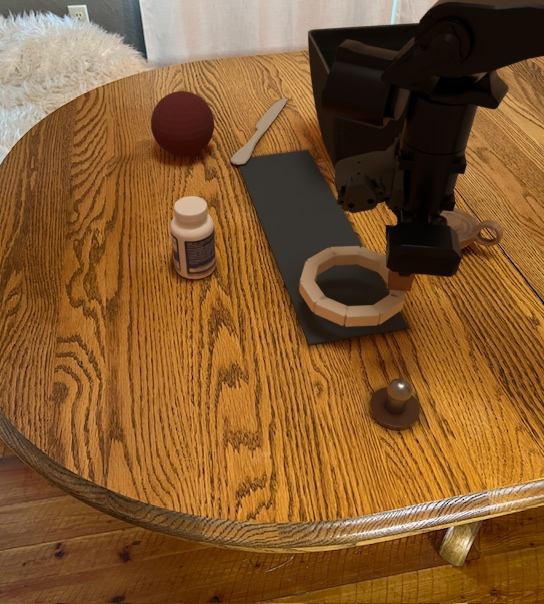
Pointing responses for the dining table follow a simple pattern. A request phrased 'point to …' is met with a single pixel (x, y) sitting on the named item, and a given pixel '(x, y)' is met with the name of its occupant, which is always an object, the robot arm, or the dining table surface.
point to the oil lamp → (471, 228)
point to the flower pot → (322, 53)
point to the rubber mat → (311, 241)
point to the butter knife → (258, 133)
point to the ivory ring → (353, 314)
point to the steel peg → (395, 405)
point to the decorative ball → (182, 124)
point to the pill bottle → (193, 238)
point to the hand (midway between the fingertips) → (403, 267)
